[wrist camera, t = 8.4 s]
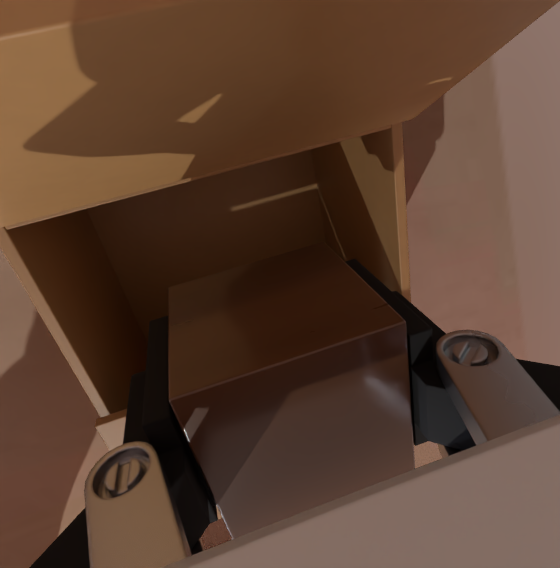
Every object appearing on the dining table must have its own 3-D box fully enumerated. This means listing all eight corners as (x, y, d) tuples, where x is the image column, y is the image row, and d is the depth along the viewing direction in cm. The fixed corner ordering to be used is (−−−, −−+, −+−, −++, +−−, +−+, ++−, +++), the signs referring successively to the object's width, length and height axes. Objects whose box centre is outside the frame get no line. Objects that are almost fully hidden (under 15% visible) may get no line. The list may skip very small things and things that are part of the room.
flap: (-23, 234, 11) (-28, 219, 10) (413, 119, 12) (410, 106, 12) (-539, 149, 3) (-564, 101, 3) (688, -101, 5) (681, -134, 5)
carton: (59, 164, 19) (-29, 230, 10) (308, 102, 21) (415, 113, 12) (163, 389, 26) (163, 542, 17) (343, 329, 28) (426, 441, 19)
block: (167, 286, 10) (167, 401, 7) (323, 240, 11) (407, 321, 7) (213, 406, 13) (234, 545, 9) (343, 362, 13) (416, 474, 9)
